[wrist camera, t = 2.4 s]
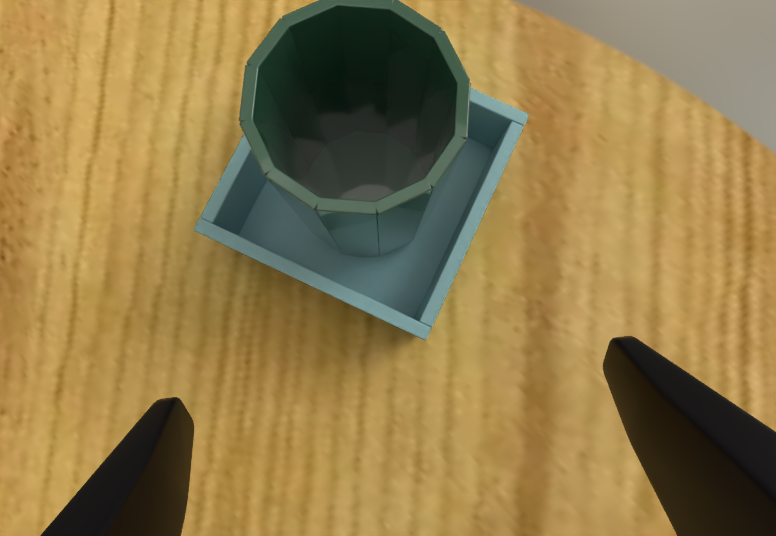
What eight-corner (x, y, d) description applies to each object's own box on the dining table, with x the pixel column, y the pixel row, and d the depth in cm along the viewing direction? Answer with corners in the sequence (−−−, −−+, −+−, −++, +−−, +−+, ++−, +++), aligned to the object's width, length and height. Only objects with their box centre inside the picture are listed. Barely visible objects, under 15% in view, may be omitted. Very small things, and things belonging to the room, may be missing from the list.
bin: (418, 336, 23) (425, 340, 19) (224, 244, 24) (192, 229, 20) (505, 147, 24) (530, 113, 20) (319, 62, 25) (306, 12, 21)
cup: (335, 279, 23) (299, 251, 13) (279, 162, 24) (204, 49, 14) (455, 222, 23) (509, 153, 13) (397, 108, 24) (408, -40, 14)
